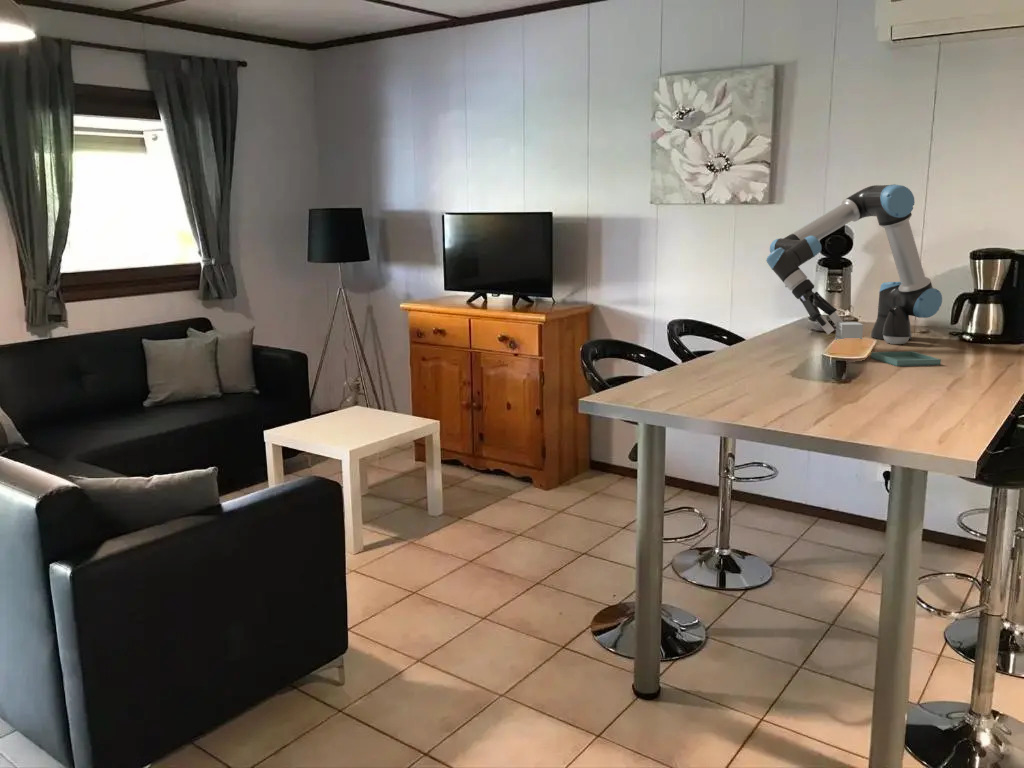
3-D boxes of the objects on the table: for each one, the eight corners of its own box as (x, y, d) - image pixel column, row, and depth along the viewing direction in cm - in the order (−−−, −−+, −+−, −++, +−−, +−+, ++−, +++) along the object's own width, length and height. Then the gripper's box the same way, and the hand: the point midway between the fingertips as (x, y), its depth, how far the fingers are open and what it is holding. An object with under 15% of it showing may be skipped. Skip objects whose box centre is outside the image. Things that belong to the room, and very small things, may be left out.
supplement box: (854, 355, 302) (857, 321, 300) (860, 359, 295) (863, 324, 292) (833, 355, 303) (836, 320, 300) (839, 359, 296) (842, 323, 293)
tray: (870, 357, 298) (871, 352, 298) (912, 356, 300) (912, 351, 300) (896, 366, 283) (897, 360, 282) (940, 365, 285) (941, 359, 284)
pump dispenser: (875, 343, 331) (878, 305, 328) (894, 341, 336) (897, 303, 332) (896, 347, 322) (900, 307, 319) (915, 344, 327) (919, 306, 323)
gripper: (803, 289, 316) (840, 332, 310) (779, 294, 297) (817, 340, 291) (819, 276, 312) (856, 319, 306) (795, 280, 293) (834, 327, 287)
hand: (837, 330), depth 299 cm, fingers open, 13 cm apart
